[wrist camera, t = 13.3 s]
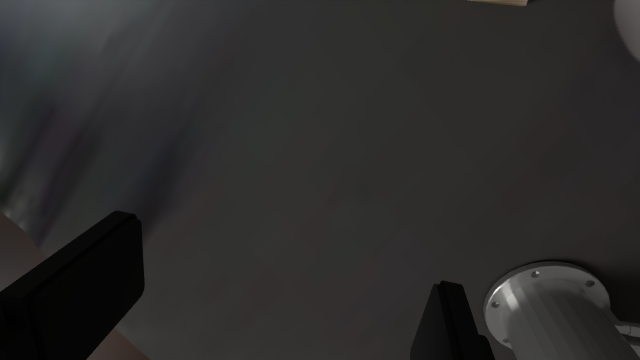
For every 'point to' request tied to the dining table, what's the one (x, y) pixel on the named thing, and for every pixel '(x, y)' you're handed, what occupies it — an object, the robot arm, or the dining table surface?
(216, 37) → the dining table surface
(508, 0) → the socket board
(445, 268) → the dining table surface
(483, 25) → the dining table surface
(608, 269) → the dining table surface
